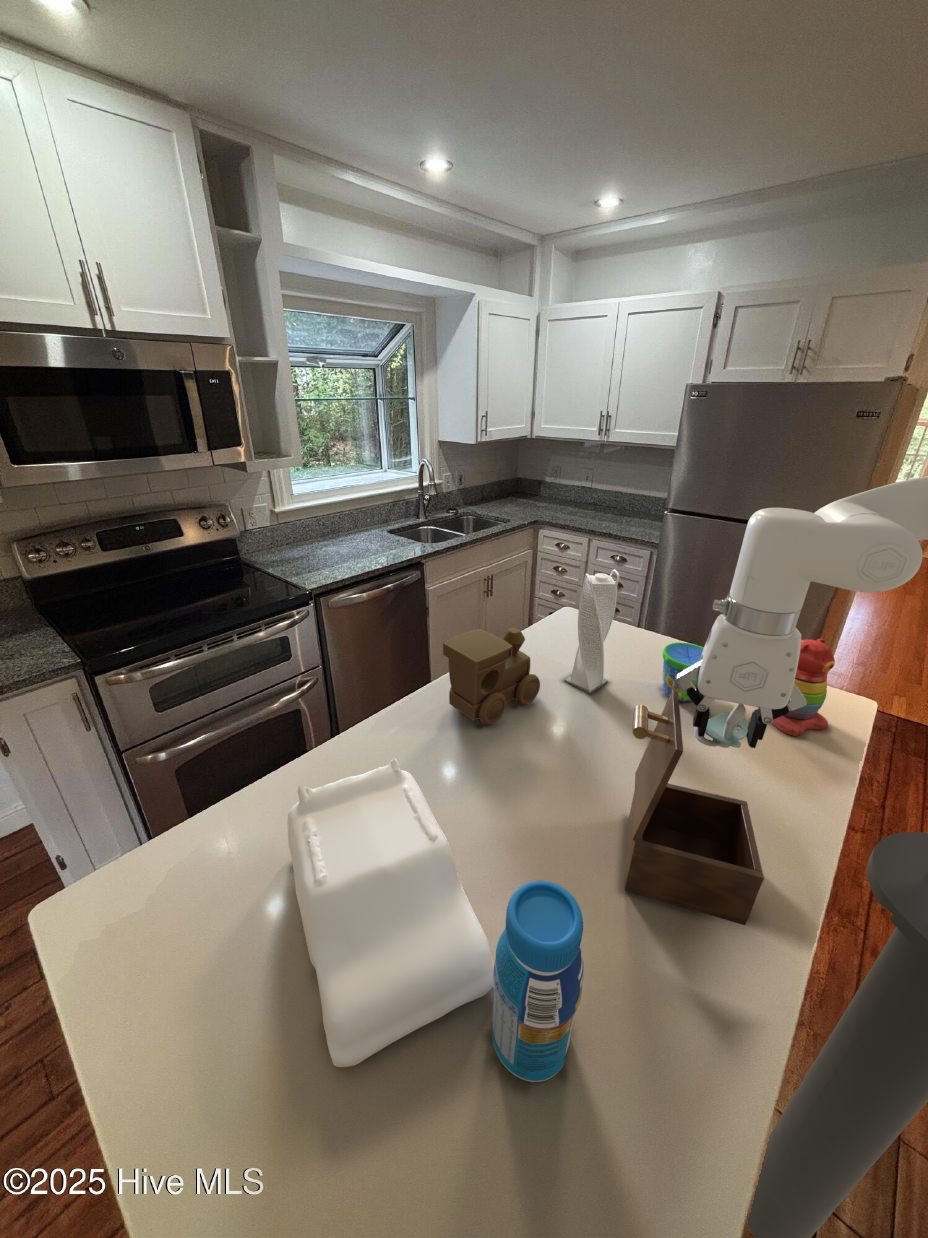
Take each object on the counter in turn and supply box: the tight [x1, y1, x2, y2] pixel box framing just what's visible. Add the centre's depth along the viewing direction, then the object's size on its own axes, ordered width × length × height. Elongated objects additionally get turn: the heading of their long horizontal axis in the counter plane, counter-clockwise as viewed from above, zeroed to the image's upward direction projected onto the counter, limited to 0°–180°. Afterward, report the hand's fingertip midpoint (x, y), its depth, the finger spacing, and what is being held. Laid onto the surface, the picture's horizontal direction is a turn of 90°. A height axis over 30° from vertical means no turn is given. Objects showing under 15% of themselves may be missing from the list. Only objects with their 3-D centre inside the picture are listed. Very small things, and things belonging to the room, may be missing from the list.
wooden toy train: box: [442, 627, 541, 726], centre depth 102 cm, size 20×11×17 cm, turn 131°
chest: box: [624, 783, 765, 926], centre depth 69 cm, size 15×13×9 cm
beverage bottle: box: [490, 879, 585, 1083], centre depth 48 cm, size 8×8×20 cm
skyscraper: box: [563, 568, 621, 694], centre depth 107 cm, size 8×8×28 cm
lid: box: [632, 690, 684, 842], centre depth 66 cm, size 16×13×5 cm
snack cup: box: [662, 642, 704, 703], centre depth 108 cm, size 16×10×10 cm
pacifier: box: [693, 703, 749, 749], centre depth 66 cm, size 7×6×6 cm
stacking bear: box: [771, 638, 836, 737], centre depth 99 cm, size 11×10×18 cm
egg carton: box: [287, 757, 495, 1068], centre depth 61 cm, size 19×30×13 cm, turn 26°
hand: (725, 735), depth 67 cm, fingers closed on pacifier, 5 cm apart
